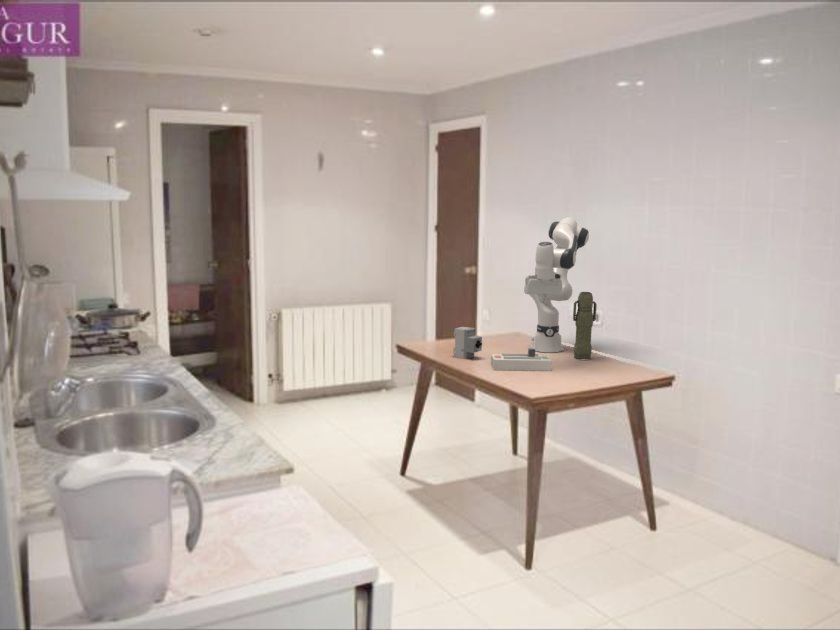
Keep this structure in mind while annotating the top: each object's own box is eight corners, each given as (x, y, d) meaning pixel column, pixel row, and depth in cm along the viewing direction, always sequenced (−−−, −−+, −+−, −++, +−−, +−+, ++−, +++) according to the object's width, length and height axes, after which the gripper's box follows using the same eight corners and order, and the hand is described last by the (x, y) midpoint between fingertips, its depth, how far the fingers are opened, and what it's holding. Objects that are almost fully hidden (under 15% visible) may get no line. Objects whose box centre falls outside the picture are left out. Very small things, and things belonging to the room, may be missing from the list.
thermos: (596, 359, 376) (600, 293, 371) (575, 360, 373) (579, 293, 368) (588, 356, 385) (592, 291, 379) (568, 357, 382) (571, 291, 377)
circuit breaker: (476, 360, 369) (477, 331, 367) (453, 356, 378) (453, 328, 375) (484, 358, 375) (485, 329, 373) (461, 354, 383) (462, 326, 381)
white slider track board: (490, 364, 362) (491, 352, 361) (546, 364, 362) (547, 353, 361) (493, 369, 349) (494, 357, 348) (551, 370, 349) (552, 358, 348)
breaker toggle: (527, 356, 356) (528, 348, 355) (533, 356, 356) (534, 348, 355) (528, 357, 353) (529, 349, 352) (534, 357, 353) (535, 349, 352)
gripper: (528, 276, 350) (527, 304, 352) (564, 275, 358) (563, 302, 360) (522, 274, 356) (521, 302, 358) (557, 274, 364) (556, 301, 366)
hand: (542, 302), depth 359 cm, fingers closed
